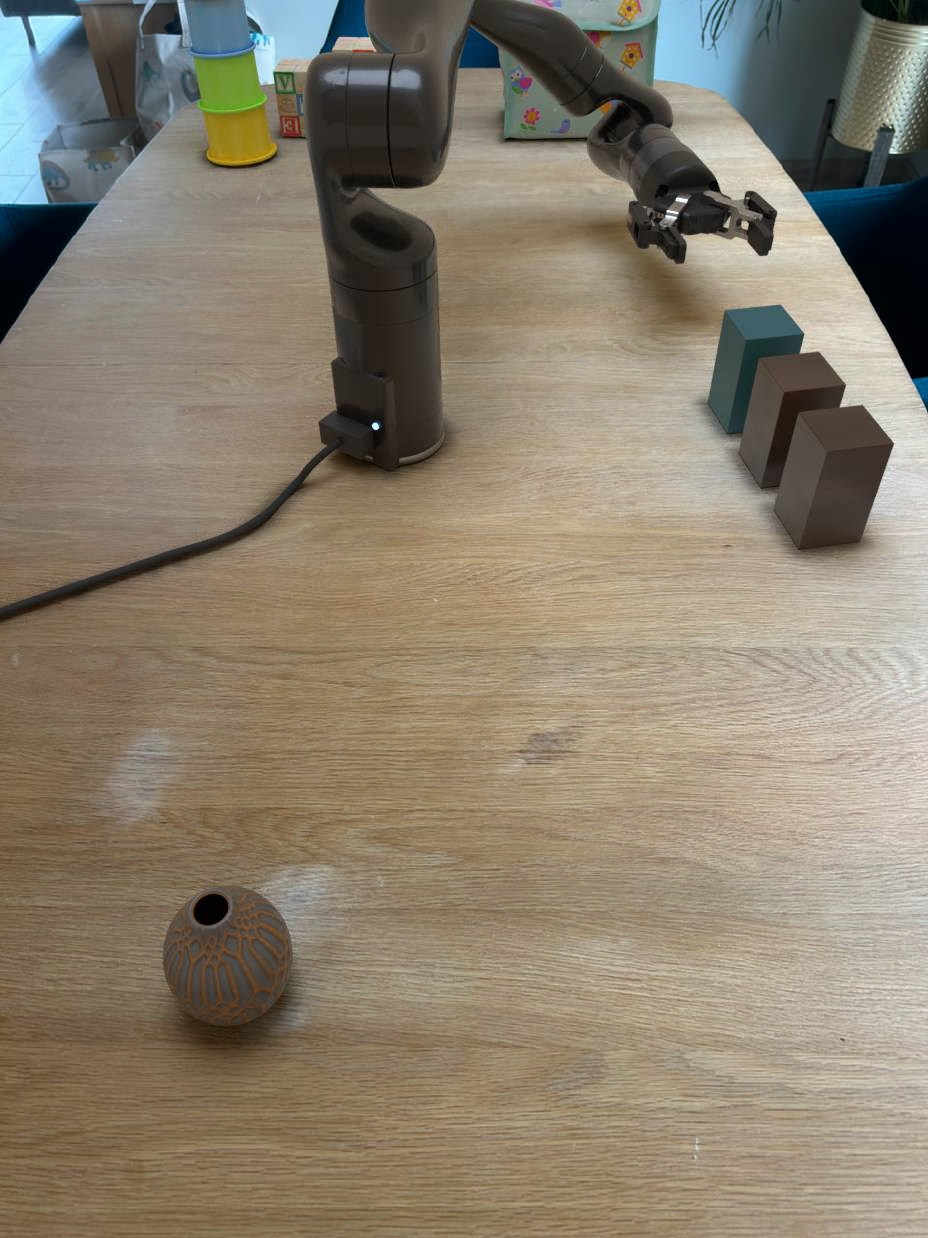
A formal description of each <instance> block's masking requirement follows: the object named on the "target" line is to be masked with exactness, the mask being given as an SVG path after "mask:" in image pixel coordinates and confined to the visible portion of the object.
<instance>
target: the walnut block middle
mask: <svg viewBox="0 0 928 1238" xmlns="http://www.w3.org/2000/svg"><path fill="white" fill-rule="evenodd" d="M846 388H847V384H846V383H845V381H844V380H843V379H842V378H841V376H840V375H839V374H838V373H837V372H836V370H835V369H834V368H833V366H832V365H831V364H830V362H828V361H827V359H826V358H825V357H824V355H823V354H822V353H821V352H820V351H810V352H809V351H808V352H800V354H791V355H781V356H772V357H763V358H759V361H758V366H757V370H756V375H755V380H754V384H753V389H752V393H751V398H750V403H749V407H748V412H747V416H746V421H745V425H744V430H743V432H742V435H741V439H740V444H739V449H738V454H739V456H740V458H741V459H742V461H743V463H744V464H745V466H746V467H747V468H748V470H749V472H750V473H751V475H752V477H753V478H754V480H755V482H756V483H757V485H758V486H759V488H760V489H763V488H772V487H779V486H780V482H781V479H782V475H783V471H784V467H785V463H786V459H787V456H788V452H789V448H790V444H791V440H792V436H793V433H794V429H795V425H796V421H797V417H798V413H799V412H804V411H813V410H822V409H831V408H839V407H841V404H842V401H843V398H844V395H845V390H846Z"/></svg>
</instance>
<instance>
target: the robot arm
mask: <svg viewBox="0 0 928 1238" xmlns="http://www.w3.org/2000/svg"><path fill="white" fill-rule="evenodd" d="M364 22H365V23H364V24H365V27H366V32H367V34H368V37H370V40H371V42H372V44H373V46H374V48H375V50H376V51H377V53H375V52H332V51H331V52H323V53H319V54H317V55H315V57H314V58H312V59H313V60H312V61H311V62H310V64H309V67H308V69H307V72H306V76H305V80H304V87H303V113H304V126H305V133H306V137H305V139H306V146H307V150H308V151H307V153H308V158H309V163H310V168H311V174H312V180H313V184H314V190H315V197H316V203H317V209H318V216H319V223H320V232H321V238H322V243H323V248H324V253H325V260H326V268H327V275H328V284H329V293H330V300H331V311H332V319H333V326H334V327H333V328H334V336H335V344H336V353H337V357H335V358H333V359H332V360H331V362H330V368H331V369H330V370H331V376H332V377H331V378H332V385H333V392H334V394H333V395H334V401H335V408H336V409H333V410H332V411H331V412H329V413H328V414H327V415H325V416H324V417H323V418H321V419H319V420H318V430H319V437H320V442H321V444H323V445H326V446H325V447H324V448H322V449H321V450H320V451H319V452H318V453H317V454H315V455H314V456H313V457H312V458H311V459H310V460H309V461H308V462H307V463H306V464H305V466H304V467H303V468H302V469H301V471H300V472H299V473H298V474H297V476H296V477H295V478H293V480H292V481H291V482H290V483H289V484H288V486H287V487H285V489H284V490H283V491H282V492H281V493H280V494H279V496H277V498H276V499H274V501H273V502H271V503H270V505H268V506H267V507H266V508H265V509H264V510H262V511H261V512H260V513H258V514H257V515H255V516H254V517H252V518H251V519H249V520H248V521H246V522H244V523H243V524H240V525H239V526H237V527H234V528H233V529H231V530H229V531H227V532H224V533H222V534H219V535H217V536H213V537H210V538H207V539H204V540H200V541H198V542H197V541H196V542H194V543H191V544H187V545H184V546H180V547H176V548H173V549H170V550H167V551H164V552H161V553H158V554H155V555H151V556H149V557H146V558H143V559H140V560H138V561H134V562H131V563H129V564H125V565H122V566H119V567H116V568H113V569H109V570H107V571H104V572H101V573H98V574H95V575H92V576H89V577H86V578H84V579H80V580H76V581H74V582H70V583H68V584H66V585H63V586H59V587H57V588H53V589H50V590H48V591H45V592H41V593H39V594H35V595H33V596H29V597H27V598H24V599H21V600H18V601H15V602H13V603H9V604H6V605H3V606H1V607H0V619H1V618H4V617H6V616H10V615H12V614H14V613H19V612H21V611H23V610H26V609H29V608H32V607H35V606H37V605H41V604H44V603H46V602H49V601H52V600H56V599H59V598H61V597H65V596H68V595H70V594H73V593H75V592H78V591H82V590H84V589H88V588H91V587H94V586H96V585H97V586H98V585H100V584H102V583H105V582H109V581H112V580H114V579H117V578H121V577H123V576H127V575H130V574H133V573H136V572H138V571H142V570H145V569H147V568H150V567H154V566H156V565H159V564H162V563H164V562H167V561H171V560H174V559H177V558H180V557H181V558H182V557H183V556H187V555H191V554H194V553H198V552H202V551H204V550H208V549H211V548H214V547H218V546H219V545H222V544H225V543H228V542H230V541H232V540H234V539H236V538H238V537H241V536H242V535H244V534H246V533H248V532H249V531H251V530H253V529H254V528H256V527H257V526H259V525H260V524H262V523H263V522H265V521H266V520H267V519H268V518H270V517H271V516H272V515H273V514H274V513H276V512H277V511H278V510H279V509H280V507H281V506H282V505H283V504H284V503H285V502H286V501H287V500H288V499H289V498H290V496H292V495H293V493H294V492H296V491H297V489H298V488H299V487H300V486H302V484H303V483H304V482H305V481H306V480H307V478H308V477H309V475H310V474H311V473H312V471H313V470H314V469H316V467H317V466H318V465H319V464H320V463H322V462H323V461H324V460H325V459H326V458H328V456H330V455H331V454H332V453H333V452H334V451H336V450H337V451H339V452H341V453H343V454H346V455H349V456H351V457H353V458H355V459H357V460H360V461H362V460H364V461H366V462H368V463H372V464H374V465H377V466H379V467H380V468H383V469H385V470H387V471H394V470H395V469H397V467H400V466H403V465H408V464H413V463H417V462H419V461H422V460H424V459H426V458H428V457H431V456H432V455H433V454H435V453H436V452H437V451H438V450H439V449H440V448H441V446H442V445H443V443H444V441H445V435H446V434H445V433H446V432H445V431H446V430H445V424H444V411H443V383H442V382H443V379H442V356H441V355H442V354H441V353H442V352H441V328H440V327H441V325H440V302H439V301H440V299H439V298H440V297H439V296H440V294H439V292H440V291H439V270H438V269H439V266H438V246H437V245H438V244H437V237H436V235H435V232H434V231H433V229H432V227H431V226H430V225H429V224H428V223H427V222H426V221H425V220H423V219H422V218H420V217H419V216H416V215H414V214H412V213H411V212H408V211H405V210H402V209H400V208H398V207H396V206H394V205H392V204H390V203H388V202H386V201H385V200H384V199H382V198H380V197H379V196H378V195H376V194H375V193H374V192H373V191H372V190H371V189H384V190H385V189H386V190H390V189H391V190H398V189H399V190H414V189H421V188H425V187H428V186H432V185H433V184H434V183H435V182H436V181H437V180H438V179H439V177H440V176H441V174H442V173H443V171H444V169H445V166H446V162H447V161H448V157H449V152H450V147H451V142H452V134H453V126H454V116H455V103H456V94H457V93H456V92H457V84H458V76H459V75H458V74H459V68H460V65H461V61H462V56H463V52H464V48H465V45H466V42H467V38H468V36H469V35H468V34H469V31H470V28H472V29H473V30H474V31H476V32H477V33H479V34H480V35H481V36H482V37H484V38H485V39H487V40H488V41H490V42H491V43H492V44H493V45H495V46H496V47H497V48H498V47H499V48H500V49H502V50H503V51H504V52H505V53H507V54H508V55H509V56H510V57H512V58H513V59H514V60H515V61H516V62H517V63H518V64H520V65H521V66H522V67H523V68H524V69H525V70H526V71H527V72H528V73H529V74H530V75H531V76H532V77H533V78H534V79H535V80H536V81H537V82H538V83H539V84H540V85H541V86H542V87H543V88H544V89H545V90H546V91H547V93H548V94H549V95H550V96H551V97H552V98H553V99H554V100H555V101H556V102H557V103H558V104H559V105H560V106H561V107H562V108H563V109H564V110H565V111H566V112H567V113H568V114H569V115H571V116H572V117H575V118H582V117H585V116H587V115H589V114H590V113H592V112H594V111H595V110H597V109H598V108H599V107H601V106H602V105H604V104H605V103H607V102H609V101H612V100H618V101H617V102H616V103H615V104H614V105H613V106H612V107H611V108H610V109H609V111H608V112H607V113H606V114H605V115H604V116H603V117H602V119H600V120H599V122H598V123H597V124H596V125H595V126H594V127H593V129H592V130H591V132H590V133H589V136H588V137H587V140H586V150H587V151H586V152H587V154H588V157H589V159H590V161H591V162H592V164H593V166H594V167H596V168H597V169H598V170H599V171H600V172H601V173H603V174H605V175H606V176H608V177H610V178H612V179H614V180H616V181H620V182H622V183H623V182H624V183H627V184H628V186H629V187H630V188H631V190H632V192H633V195H634V197H635V199H636V200H631V201H629V202H628V208H627V209H628V210H627V221H626V228H627V230H628V232H629V233H630V236H631V237H632V239H633V241H634V243H635V245H636V247H637V248H638V249H642V250H647V249H649V248H650V245H653V246H655V247H656V249H657V250H660V251H662V252H663V253H664V255H665V257H666V258H667V259H670V260H671V261H673V262H674V263H675V265H683V264H685V262H686V255H687V248H688V244H687V241H686V240H685V238H684V237H685V236H697V235H700V234H703V235H710V234H711V235H714V236H717V237H720V238H724V239H726V240H729V241H732V240H734V239H735V238H738V239H742V240H744V241H747V244H748V245H749V246H750V247H751V248H752V249H753V251H754V252H755V253H756V254H757V255H758V257H767V256H768V255H769V253H770V251H772V247H773V243H774V238H775V233H774V231H775V230H774V229H775V225H776V224H775V223H776V219H777V217H778V210H777V209H775V208H774V206H772V204H770V203H769V202H768V201H767V200H766V199H764V197H762V196H761V195H760V194H759V193H758V192H757V191H754V190H746V191H745V193H744V197H743V198H742V199H741V198H740V199H733V198H732V197H730V196H729V195H727V194H725V193H722V190H721V187H720V184H719V182H718V179H717V177H716V175H715V174H714V173H713V172H712V171H711V169H710V168H709V167H708V166H707V165H706V164H705V163H704V161H702V159H701V158H700V157H699V156H698V155H697V153H695V151H694V150H692V149H691V148H690V146H687V145H686V144H685V143H683V142H682V141H681V140H680V138H679V137H678V136H677V135H676V134H675V133H674V132H673V131H672V128H673V126H674V112H673V109H672V106H671V103H670V102H669V100H668V99H667V98H666V97H665V96H664V95H663V94H662V93H661V92H660V91H657V90H656V89H655V88H654V87H653V88H651V87H650V86H648V85H646V84H644V83H642V82H640V81H638V80H636V79H635V78H633V77H631V76H629V75H628V74H626V73H625V72H623V71H622V70H620V69H619V68H618V67H616V66H615V65H614V64H613V63H612V62H611V61H610V60H609V59H608V58H607V57H606V56H605V55H604V54H603V53H602V52H601V51H600V49H599V48H598V47H597V46H596V45H595V44H594V43H593V42H592V40H591V39H590V38H589V37H588V36H587V35H586V34H585V33H584V32H583V30H582V29H581V28H580V27H579V26H578V25H577V24H576V23H575V22H574V21H572V20H571V19H570V18H568V17H567V16H565V15H563V14H562V13H559V12H557V11H555V10H552V9H549V8H546V7H542V6H538V5H535V4H531V3H526V2H522V1H518V0H365V1H364ZM728 221H729V223H728V227H726V226H725V225H726V224H727V222H728ZM743 222H746V223H747V224H748V225H747V228H746V229H745V228H743V226H742V224H743ZM653 224H654V225H653Z"/></svg>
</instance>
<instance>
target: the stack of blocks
mask: <svg viewBox="0 0 928 1238" xmlns="http://www.w3.org/2000/svg"><path fill="white" fill-rule="evenodd" d="M331 52H375V53H377V51H376V50H375V48H374V46H373V44H372V42H371V40H370V37H369V36H368V37H362V36H361V37H356V36H353V37H352V36H339V37H338V38H337V39H336V41H335V43H334V46H333V47H332V49H331ZM313 59H314V58H281V59H280V60H279V62H278V63H277V65H276V66H275V68H274V69H273V70H272V75H273V76H272V77H273V82H274V91H275V94H276V103H277V113H278V115H279V117H278V118H279V125H280V133H281V137H302V138H306V133H305V126H304V113H303V87H304V80H305V76H306V72H307V69H308V67H309V64H310V62H311V61H312V60H313Z"/></svg>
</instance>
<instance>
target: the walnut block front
mask: <svg viewBox="0 0 928 1238" xmlns="http://www.w3.org/2000/svg"><path fill="white" fill-rule="evenodd" d="M894 446H895V442H894V441H893V440H892V438H890V436H889V434H887V432H885V430H884V429H883V428H882V427H881V425H880V424H879V423H878V421H876V419H875V418H874V417H873V416H872V414H871V413H870V412H869V411H868V409H867V408H866V407H865V406H864V405H863V404H858V405H847V406H840V407H839V408H831V409H822V410H813V411H804V412H799V413H798V417H797V421H796V425H795V429H794V433H793V436H792V440H791V444H790V448H789V452H788V456H787V459H786V463H785V467H784V471H783V475H782V479H781V482H780V486H778V491H777V493H776V499H775V502H774V506H773V510H774V512H775V513H776V516H777V517H778V519H779V520H780V522H781V523H782V525H783V526H784V529H785V530H786V532H787V533H788V535H789V536H790V538H791V539H792V541H793V543H794V544H795V546H796V548H797V549H798V550H805V549H806V550H807V549H814V548H820V547H827V546H836V545H843V544H850V543H851V544H852V543H858V542H861V540H862V538H863V536H864V535H863V534H864V531H865V529H866V526H867V523H868V520H869V518H870V514H871V511H872V509H873V507H874V506H873V505H874V502H875V500H876V498H877V494H878V492H879V489H880V486H881V484H882V483H881V482H882V481H883V477H884V475H885V471H886V468H887V465H888V463H889V461H890V457H891V455H892V453H893V449H894Z"/></svg>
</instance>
